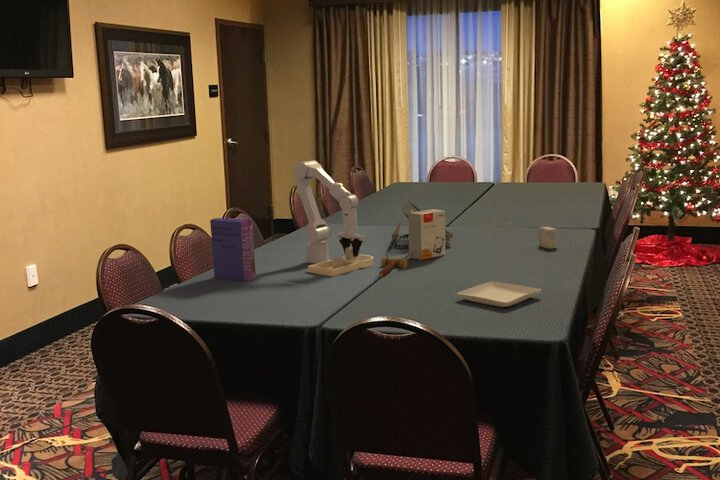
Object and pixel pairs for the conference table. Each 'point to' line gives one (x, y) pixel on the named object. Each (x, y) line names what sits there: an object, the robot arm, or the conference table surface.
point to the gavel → (392, 264)
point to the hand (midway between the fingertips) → (351, 255)
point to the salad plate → (498, 294)
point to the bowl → (362, 261)
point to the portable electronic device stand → (396, 234)
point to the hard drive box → (426, 234)
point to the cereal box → (233, 249)
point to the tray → (328, 270)
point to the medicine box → (548, 237)
